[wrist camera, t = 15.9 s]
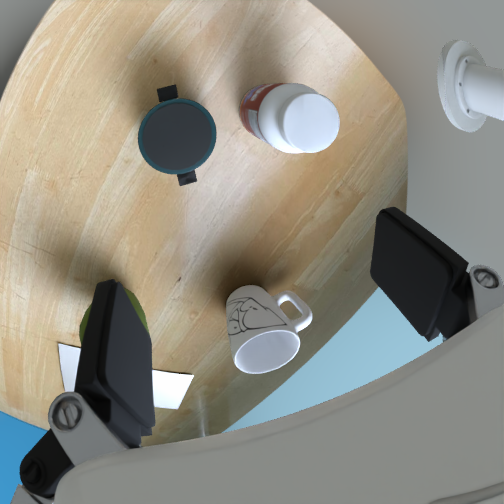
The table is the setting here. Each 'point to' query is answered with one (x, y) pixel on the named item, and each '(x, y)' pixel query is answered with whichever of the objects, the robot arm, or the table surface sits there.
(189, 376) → the paper
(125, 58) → the table surface
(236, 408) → the table surface
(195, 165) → the pot
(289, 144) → the pill bottle
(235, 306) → the mug
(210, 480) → the robot arm
